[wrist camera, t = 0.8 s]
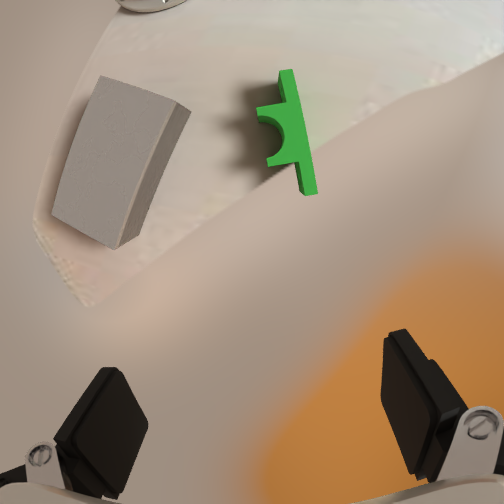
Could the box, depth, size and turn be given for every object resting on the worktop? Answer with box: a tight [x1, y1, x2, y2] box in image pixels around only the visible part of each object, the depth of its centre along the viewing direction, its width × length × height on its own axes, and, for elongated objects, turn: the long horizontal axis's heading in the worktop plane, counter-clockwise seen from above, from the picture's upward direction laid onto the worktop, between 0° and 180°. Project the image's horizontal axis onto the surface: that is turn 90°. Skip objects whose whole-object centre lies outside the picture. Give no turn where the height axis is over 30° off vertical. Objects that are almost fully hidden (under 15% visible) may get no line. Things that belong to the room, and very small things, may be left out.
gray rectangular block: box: [51, 76, 191, 250], centre depth 26 cm, size 14×8×6 cm, turn 154°
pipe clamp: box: [256, 69, 318, 196], centre depth 26 cm, size 11×4×5 cm, turn 11°
